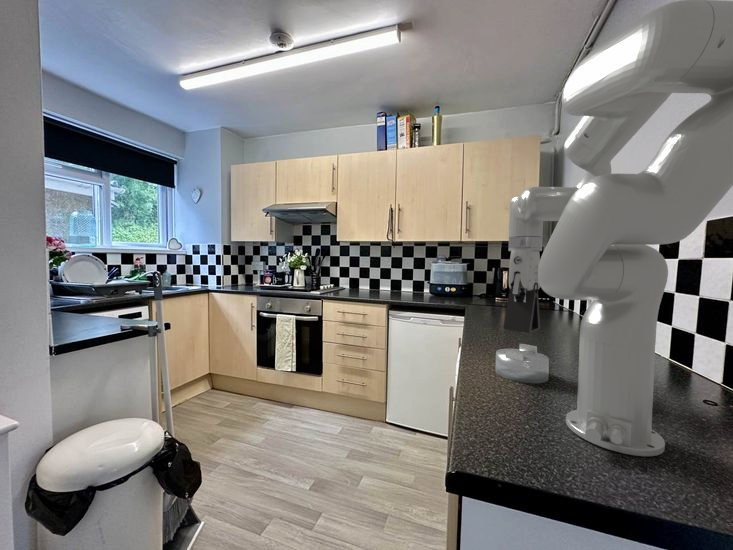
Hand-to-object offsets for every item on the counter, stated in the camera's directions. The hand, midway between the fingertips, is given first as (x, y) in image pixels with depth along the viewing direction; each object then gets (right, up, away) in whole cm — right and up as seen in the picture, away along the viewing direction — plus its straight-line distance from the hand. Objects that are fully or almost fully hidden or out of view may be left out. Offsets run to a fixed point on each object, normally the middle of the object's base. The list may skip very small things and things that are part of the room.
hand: (522, 317), depth 78 cm
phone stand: (0, -3, 0) cm, 3 cm away
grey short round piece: (0, -15, 0) cm, 15 cm away
